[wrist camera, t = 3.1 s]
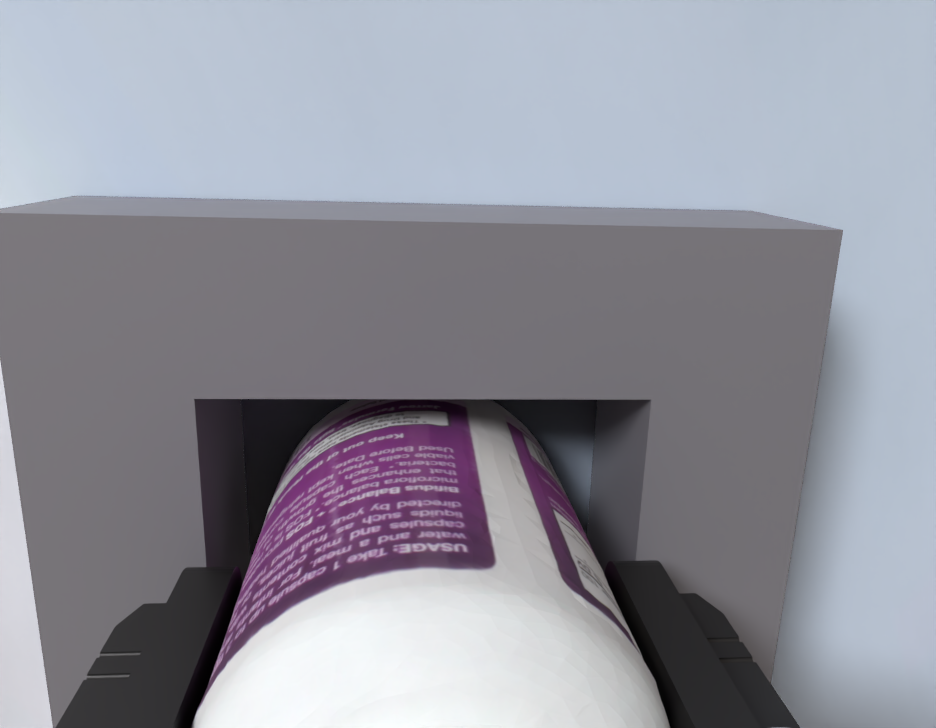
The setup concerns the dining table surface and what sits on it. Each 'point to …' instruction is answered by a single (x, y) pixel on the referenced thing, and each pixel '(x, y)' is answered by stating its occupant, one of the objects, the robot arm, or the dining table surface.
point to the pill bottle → (425, 587)
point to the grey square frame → (401, 375)
